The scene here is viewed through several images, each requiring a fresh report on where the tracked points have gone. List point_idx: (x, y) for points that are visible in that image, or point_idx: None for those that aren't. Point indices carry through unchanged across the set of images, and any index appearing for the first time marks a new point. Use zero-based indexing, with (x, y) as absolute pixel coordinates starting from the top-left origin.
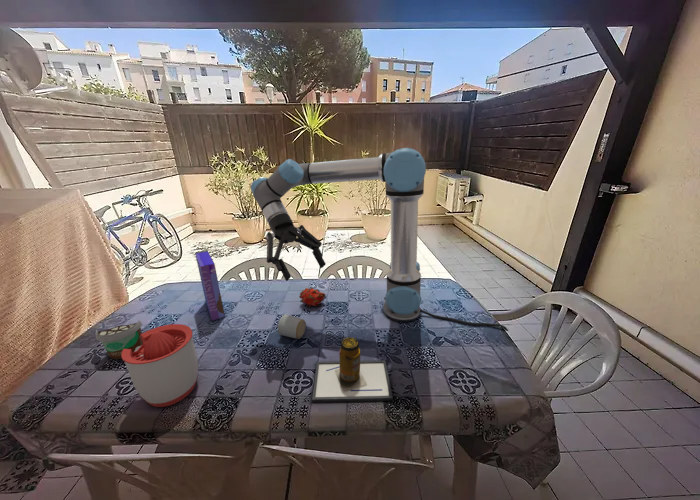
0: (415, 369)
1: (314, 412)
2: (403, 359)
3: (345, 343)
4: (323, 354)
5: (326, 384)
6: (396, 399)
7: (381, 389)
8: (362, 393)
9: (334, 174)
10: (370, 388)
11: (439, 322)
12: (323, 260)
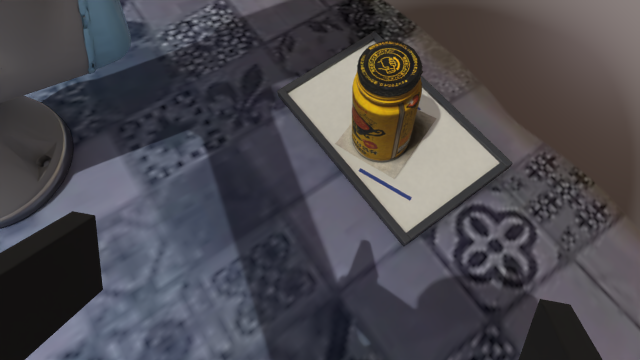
0: (258, 36)
1: (523, 145)
2: (240, 68)
3: (401, 72)
4: (356, 258)
5: (447, 167)
6: (366, 33)
7: None
8: None
9: None
10: None
11: None
12: (39, 234)
